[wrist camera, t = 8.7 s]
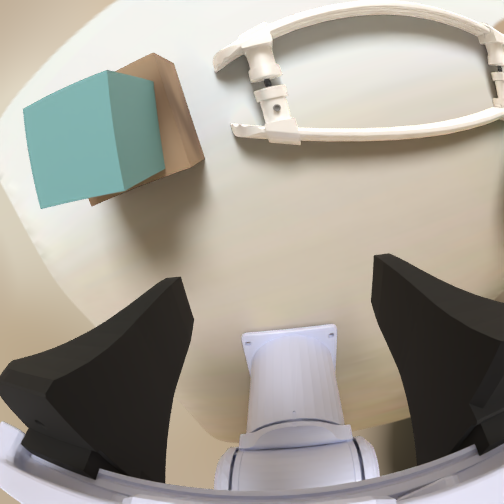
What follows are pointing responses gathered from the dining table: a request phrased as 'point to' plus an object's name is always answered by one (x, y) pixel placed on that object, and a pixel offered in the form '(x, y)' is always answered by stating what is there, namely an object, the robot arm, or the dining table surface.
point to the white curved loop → (287, 132)
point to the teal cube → (93, 138)
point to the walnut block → (166, 119)
